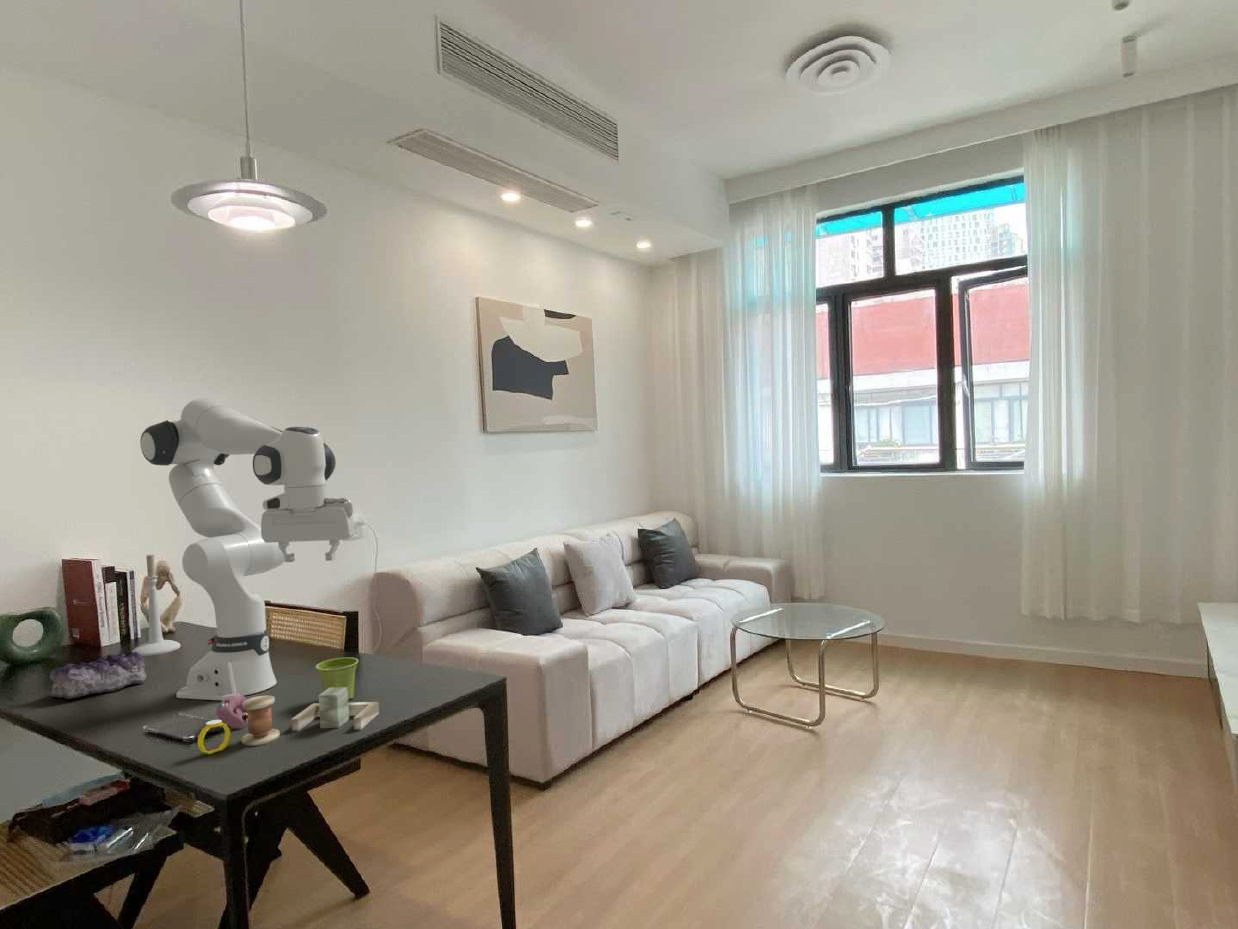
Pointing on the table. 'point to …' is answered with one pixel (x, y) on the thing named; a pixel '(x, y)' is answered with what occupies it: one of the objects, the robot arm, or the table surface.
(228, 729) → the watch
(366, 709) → the beige u-shaped bracket
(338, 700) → the block
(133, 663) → the geode
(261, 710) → the bobbin
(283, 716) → the table surface
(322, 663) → the plant pot
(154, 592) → the candlestick
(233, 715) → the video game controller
